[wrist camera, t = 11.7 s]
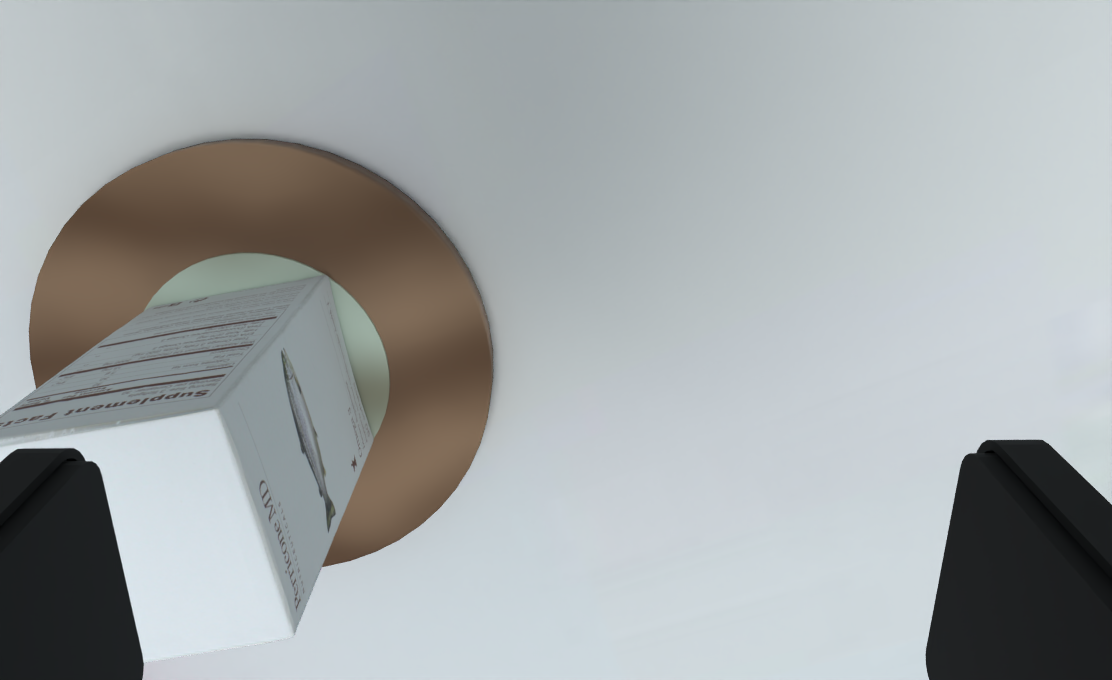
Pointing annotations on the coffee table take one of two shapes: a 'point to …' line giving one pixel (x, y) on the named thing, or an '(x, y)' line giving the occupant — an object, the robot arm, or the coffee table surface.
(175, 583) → the supplement box
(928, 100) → the coffee table surface
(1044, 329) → the coffee table surface
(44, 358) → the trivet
